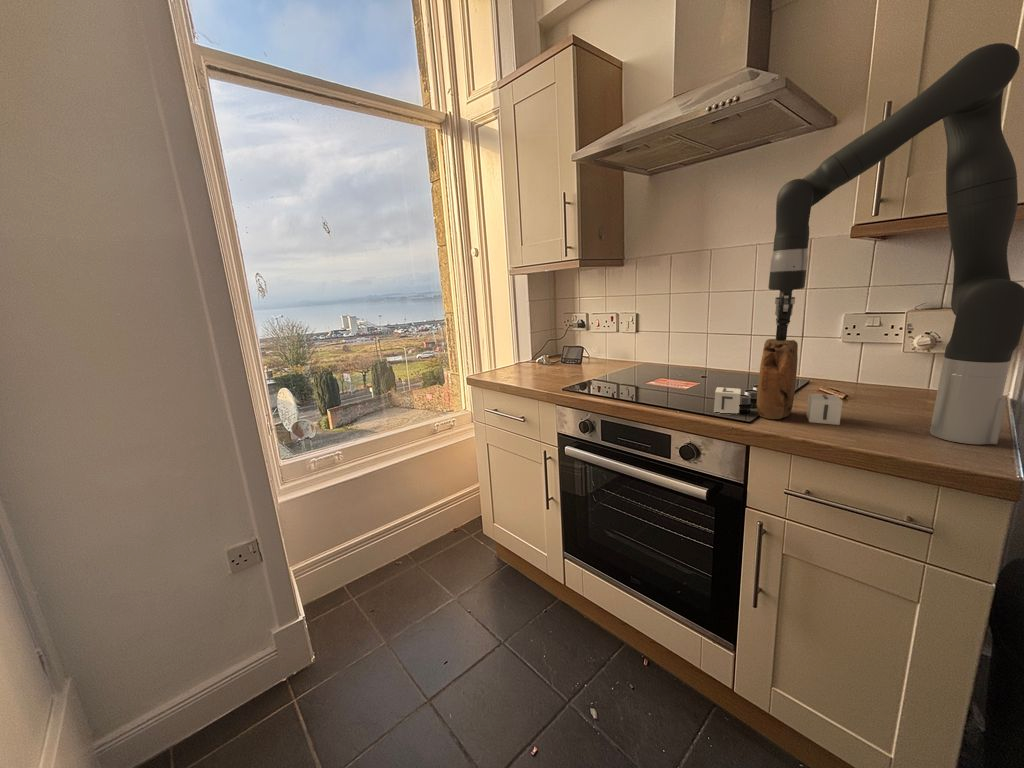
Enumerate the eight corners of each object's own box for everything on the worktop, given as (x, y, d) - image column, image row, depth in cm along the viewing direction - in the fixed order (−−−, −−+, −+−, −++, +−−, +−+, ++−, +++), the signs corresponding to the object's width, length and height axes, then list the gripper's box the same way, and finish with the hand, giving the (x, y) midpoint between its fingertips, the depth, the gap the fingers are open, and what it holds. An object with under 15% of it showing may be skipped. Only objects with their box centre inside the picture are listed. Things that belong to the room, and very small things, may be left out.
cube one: (835, 418, 105) (838, 394, 104) (839, 425, 100) (842, 400, 98) (806, 415, 108) (809, 392, 107) (809, 422, 103) (812, 398, 101)
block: (762, 408, 115) (769, 337, 111) (794, 412, 110) (802, 338, 106) (751, 417, 108) (758, 341, 103) (785, 423, 103) (794, 343, 98)
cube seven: (739, 409, 116) (740, 388, 114) (738, 415, 110) (740, 393, 109) (715, 407, 118) (716, 386, 117) (713, 413, 113) (715, 391, 112)
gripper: (809, 268, 93) (801, 344, 97) (803, 269, 104) (796, 337, 108) (770, 270, 97) (764, 343, 101) (769, 271, 108) (763, 336, 112)
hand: (780, 340), depth 105 cm, fingers closed
